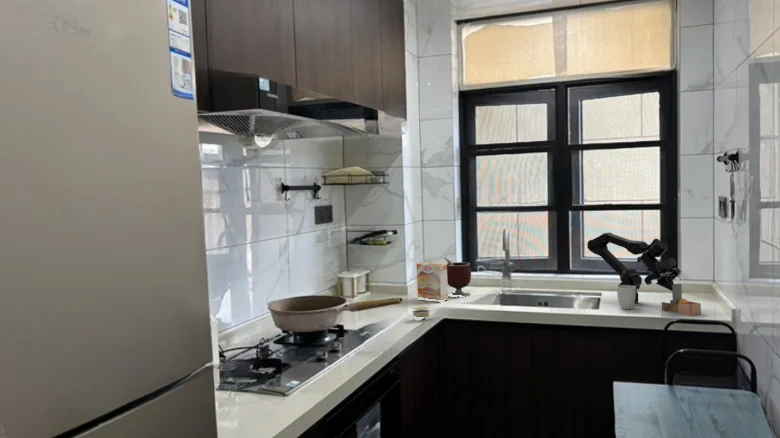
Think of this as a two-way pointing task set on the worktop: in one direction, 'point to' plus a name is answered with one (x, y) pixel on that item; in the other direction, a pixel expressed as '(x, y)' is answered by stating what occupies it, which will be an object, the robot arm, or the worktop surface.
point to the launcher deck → (670, 306)
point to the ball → (683, 301)
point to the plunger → (676, 293)
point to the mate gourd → (458, 276)
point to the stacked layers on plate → (421, 312)
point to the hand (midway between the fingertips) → (675, 291)
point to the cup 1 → (626, 296)
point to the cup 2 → (689, 308)
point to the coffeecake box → (432, 280)
